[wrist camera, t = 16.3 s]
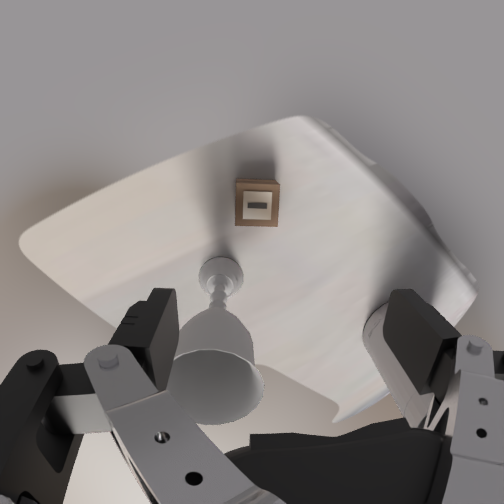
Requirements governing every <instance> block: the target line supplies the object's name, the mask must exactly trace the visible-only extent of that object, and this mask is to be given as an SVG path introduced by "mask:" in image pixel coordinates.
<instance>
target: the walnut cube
mask: <svg viewBox="0 0 504 504" xmlns="http://www.w3.org/2000/svg"><path fill="white" fill-rule="evenodd" d="M279 193H280V184H279V183H278V182H277V181H276V180H262V179H236V208H235V226H267V227H278V211H279Z"/></svg>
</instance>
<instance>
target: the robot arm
mask: <svg viewBox="0 0 504 504" xmlns="http://www.w3.org/2000/svg"><path fill="white" fill-rule="evenodd" d="M178 341H179V322H178V311H177V298H176V291H175V289H170V288H154V289H153V290H152V292H151V294H150V296H149V298H148V299H147V301H138V302H137V303H135V304H134V305H133V306H131V307H130V308H129V310H128V311H127V313H126V315H125V317H124V318H123V320H122V321H121V324H120V325H119V326H118V328H117V330H116V332H115V333H114V335H113V337H112V338H111V340H110V342H109V344H108V345H103V346H100V347H97V348H95V349H93V350H92V351H90V352H89V353H88V354H87V355H86V357H85V359H84V363H77V364H63V365H59V363H58V360H57V357H56V356H55V354H54V353H52V352H50V351H47V350H35V351H31V352H28V353H26V354H25V355H23V356H22V357H21V358H19V360H18V361H17V362H16V363H15V365H14V366H13V368H12V369H11V371H10V372H9V373H8V375H7V376H6V378H5V379H4V381H3V382H2V384H1V385H0V504H63V500H64V497H65V493H66V490H67V486H68V483H69V479H70V476H71V473H72V469H73V466H74V463H75V460H76V457H77V454H78V450H79V447H80V445H81V442H82V438H83V436H84V433H98V432H110V434H111V436H112V437H113V440H114V442H115V443H116V445H117V447H118V449H119V451H120V453H121V455H122V456H123V458H124V460H125V461H126V463H127V465H128V467H129V468H130V470H131V472H132V474H133V475H134V477H135V479H136V480H137V482H138V484H139V485H140V487H141V489H142V491H143V492H144V494H145V495H146V497H147V498H148V500H149V502H150V503H151V504H504V351H492V348H491V346H490V344H489V343H488V342H486V341H485V340H483V339H482V338H480V337H477V336H473V335H463V336H462V335H461V334H460V333H459V332H458V331H457V330H456V329H455V328H454V327H453V326H452V325H451V324H450V323H449V322H448V321H447V320H446V319H445V318H444V317H443V316H442V315H440V313H439V312H438V311H437V310H436V309H435V308H434V307H433V306H431V305H429V304H428V303H426V302H425V301H424V300H423V299H422V298H421V297H420V296H419V295H418V294H417V293H416V292H414V291H413V290H412V289H399V290H393V291H392V293H391V295H390V299H389V302H388V303H386V304H384V305H383V306H381V307H380V308H379V309H377V310H376V311H375V312H374V313H373V314H372V316H371V317H370V318H369V320H368V321H367V323H366V326H365V328H364V332H363V342H364V345H365V347H366V349H367V351H368V353H369V354H370V356H371V358H372V360H373V362H374V364H375V365H376V367H377V369H378V371H379V373H380V375H381V376H382V378H383V380H384V382H385V384H386V385H387V387H388V389H389V391H390V393H391V395H392V396H393V398H394V400H395V402H396V404H397V405H398V408H399V410H400V411H401V414H402V415H403V417H404V418H400V419H394V420H389V421H384V422H378V423H373V424H370V425H368V426H365V427H362V428H360V429H357V430H355V431H352V432H349V433H347V434H344V435H341V436H338V437H326V436H316V435H307V434H299V433H277V434H250V443H249V446H246V447H241V448H238V449H235V450H232V451H230V452H227V453H225V454H223V453H222V452H221V451H220V450H219V449H218V447H217V446H215V444H214V443H213V442H212V441H211V440H210V439H209V438H208V437H207V436H206V435H205V433H204V432H203V431H202V430H201V429H200V428H199V427H198V425H197V424H196V423H195V422H194V421H193V420H192V419H191V417H190V416H189V415H188V414H187V413H186V411H185V410H184V409H183V408H182V407H181V405H180V404H179V403H178V402H177V401H176V399H175V398H174V397H173V396H172V395H171V393H170V392H169V391H167V390H166V388H167V384H168V380H169V376H170V372H171V368H172V364H173V361H174V357H175V353H176V349H177V346H178Z"/></svg>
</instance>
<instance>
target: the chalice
mask: <svg viewBox="0 0 504 504" xmlns="http://www.w3.org/2000/svg"><path fill="white" fill-rule="evenodd" d="M199 282H200V285H201V287H202V289H203V290H204V291H205V292H206V293H207V294H208V296H210V301H211V303H210V305H209V309H207V310H205V311H202V312H200V313H199V314H197V315H196V316H194V317H193V318H192V319H190V320H189V321H188V322H187V323H186V324H185V325H184V326H183V327H182V329H181V330H180V331H179V341H178V346H177V349H176V353H175V357H174V361H173V364H172V368H171V372H170V376H169V380H168V384H167V388H166V390H167V391H169V392H170V393H171V395H172V396H173V397H174V398H175V399H176V401H177V402H178V403H179V404H180V405H181V407H182V408H183V409H184V410H185V411H186V413H187V414H188V415H189V416H190V417H191V419H192V420H193V421H194V422H195V423H198V424H204V425H219V424H224V423H229V422H234V421H236V420H238V419H240V418H242V417H245V416H246V415H248V414H249V413H250V412H251V411H252V410H254V409H255V408H256V407H257V405H258V404H259V402H260V401H261V399H262V397H263V392H264V382H263V380H262V377H261V374H260V372H259V371H258V370H257V369H256V368H255V364H254V351H253V342H252V339H251V336H250V333H249V331H248V330H247V329H246V328H245V326H244V325H243V324H242V323H241V321H240V320H239V319H238V318H237V317H236V316H235V315H233V314H232V313H230V312H229V311H227V310H226V304H225V303H226V302H227V299H228V298H230V297H231V296H233V295H234V294H235V293H237V292H238V290H239V289H240V288H241V286H242V283H243V272H242V270H241V268H240V266H239V265H238V264H237V263H236V262H234V261H233V260H231V259H228V258H225V257H216V258H213V259H210V260H209V261H207V262H206V263H204V265H203V266H202V268H201V269H200V272H199Z"/></svg>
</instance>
